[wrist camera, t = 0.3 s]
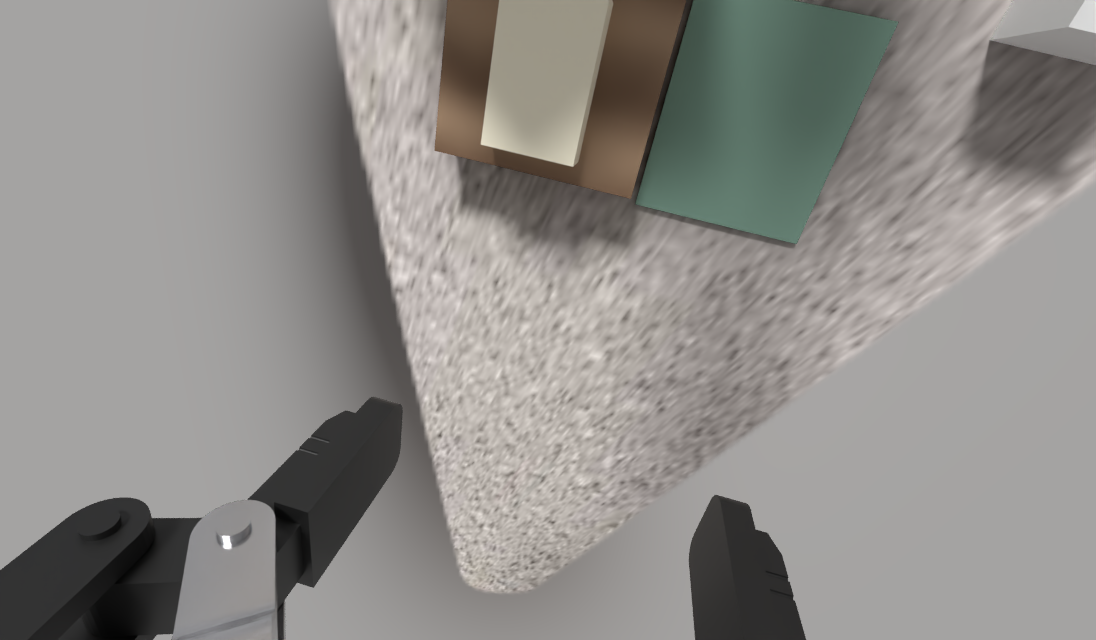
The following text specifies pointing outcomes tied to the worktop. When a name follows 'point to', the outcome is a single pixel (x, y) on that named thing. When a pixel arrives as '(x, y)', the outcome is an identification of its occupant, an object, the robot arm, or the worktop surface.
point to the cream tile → (544, 76)
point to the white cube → (1051, 28)
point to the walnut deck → (617, 105)
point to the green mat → (759, 111)
